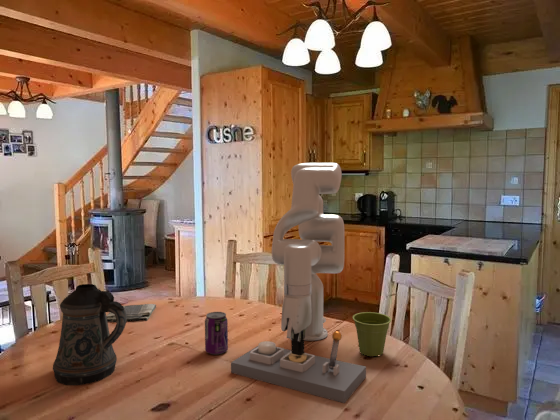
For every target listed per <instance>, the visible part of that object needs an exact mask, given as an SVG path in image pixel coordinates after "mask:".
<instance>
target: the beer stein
mask: <svg viewBox="0 0 560 420" xmlns="http://www.w3.org/2000/svg"><path fill="white" fill-rule="evenodd" d="M123 306H124V305H122V304H121V302H119V301H116V300H115V297H114V294H113V293H112V292H110V291H107V290H106V291H105V290H101V289H99V288H98V287H97V285H96V284H93V283H86V284H85V283H83V284H79V285H76V287H75V289H74V291H72V292H70V294H68V295H67V296H66V297H65V298H63V300H62V301H61V302H60V304H59V308H60V311H61V312H62V319H61V320H62V322H61V329H60V330H61V331H60V336H59V338H60V339H59V344H58V349H57V354H56V356H55V359H54V360H53V361H54V362H53V364H52V370H53V373H54V378H55V380H56V382H57V383H59V384H62V385H65V386H82V385H88V384H89V385H90V384H94V383H95V382H99V381H102V380H104V379H105V378H108V377H109V376H111V375H112V374H113V373H114V372H115V370H116V365H117V359H118V358H117V354H116V352H115V349H114V348H113V344H114V343H116V341H117V340H118V339H119V337H121V335H122V334H123V332H124V330H125V327H126V324H127V322H126V319H127V317H126V312H125V310H124V307H123ZM110 312H111V313H113V314H114V315H115V317H116V320H117V322H116V324H115V326H114V329H113V330H112V332H111V333H110V330H109V322H107V317H106V316H107V313H110Z"/></svg>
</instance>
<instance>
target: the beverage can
mask: <svg viewBox="0 0 560 420" xmlns="http://www.w3.org/2000/svg"><path fill="white" fill-rule="evenodd" d="M205 316H206V317H205V319H204V345H205V346H204V351H205V352H206V353H208V354H209V355H213V356H216V355H222V354H224V353H225V352H227V351H228V349H229V343H228V342H229V339H228V337H229V335H228V334H229V332H228V329H229V327H228V325H229V324H228V323H229V322H228V317H227V313H226V312H224V311H212V312H208V313H206V315H205Z"/></svg>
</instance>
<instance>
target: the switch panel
mask: <svg viewBox="0 0 560 420" xmlns="http://www.w3.org/2000/svg"><path fill="white" fill-rule="evenodd" d="M291 353H292V349H287V348H284V347H280V346H279V347H278V346H276V352H275V353H273V354H270V355H264V354H260V353H259V352H258V345H257V346H255V347H254V348H252V349H250V350H249V351H248V352H246V353H244V354H242V355H241V356H239V357H237V358H236V359H234V360H233V361H231V362H230V373H232V374H235V375H239V376H242V377H246V378H249V379H252V380H253V379H254V380H256V381H261V382H265V383H268V384H272V385H276V386H279V387H283V388H287V389H291V390H293V391H294V390H295V391H298V392H301V393H306V394H309V395H312V396H316V397H321V398H324V399H327V400H331V401H335V402H339V403H343V404H345V403H347V401H348V399H349V398H351V396H352V395H353V393H355V391H356V390H357V389H358V388H359V386H360V385H361V384H362V383H363V381H364V380H365V379H366V378H367V366H364V365H360V364H357V363H356V364H355V363H351V362H346V361H342V360H337V359H336V363H335V367H334V368H333V370H331V369H330V368H329V363H330V358H329V357H323V356H319V355H315V354H311V353H307V352H304V354H306V355H307V361H306V362H304V363H303V364H301V363H297V362H292V361H289V354H291Z"/></svg>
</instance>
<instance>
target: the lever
mask: <svg viewBox="0 0 560 420" xmlns="http://www.w3.org/2000/svg"><path fill="white" fill-rule="evenodd" d="M331 337H332V338H331V339H333V340H332V345H331V352H330V358H329V359H330V363H329V368H330V369H331V370H333V368H334V367H335V363H336V360H337V358H338V351H339V343H340V340H341V339H342V333H341V332H340V331H338V330H335V331H334V332H333V333H332V334H331Z"/></svg>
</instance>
